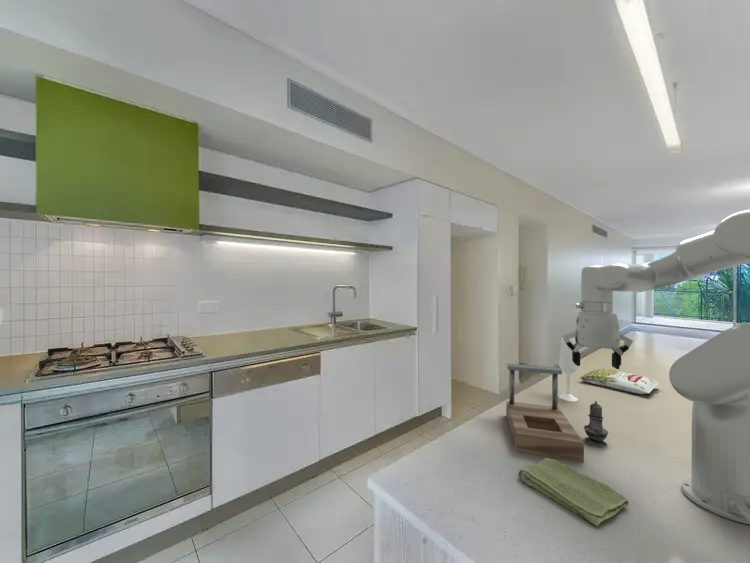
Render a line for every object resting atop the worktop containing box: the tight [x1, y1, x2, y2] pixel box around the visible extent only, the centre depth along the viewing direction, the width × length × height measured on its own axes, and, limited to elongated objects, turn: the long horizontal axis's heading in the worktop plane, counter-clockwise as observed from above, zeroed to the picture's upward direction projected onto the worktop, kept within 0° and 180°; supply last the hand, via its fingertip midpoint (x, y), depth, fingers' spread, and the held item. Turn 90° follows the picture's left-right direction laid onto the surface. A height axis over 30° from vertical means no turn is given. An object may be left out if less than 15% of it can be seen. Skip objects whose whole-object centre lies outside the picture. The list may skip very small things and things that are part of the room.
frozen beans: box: [579, 368, 661, 395], centre depth 140 cm, size 21×6×25 cm
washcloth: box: [517, 457, 629, 527], centre depth 68 cm, size 13×18×3 cm
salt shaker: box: [583, 400, 609, 448], centre depth 89 cm, size 6×6×12 cm
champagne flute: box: [558, 337, 579, 402], centre depth 124 cm, size 7×7×24 cm
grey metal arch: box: [506, 362, 563, 410], centre depth 102 cm, size 4×16×13 cm, turn 73°
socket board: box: [505, 400, 585, 463], centre depth 93 cm, size 24×16×5 cm, turn 163°
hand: (595, 366), depth 89 cm, fingers open, 9 cm apart
